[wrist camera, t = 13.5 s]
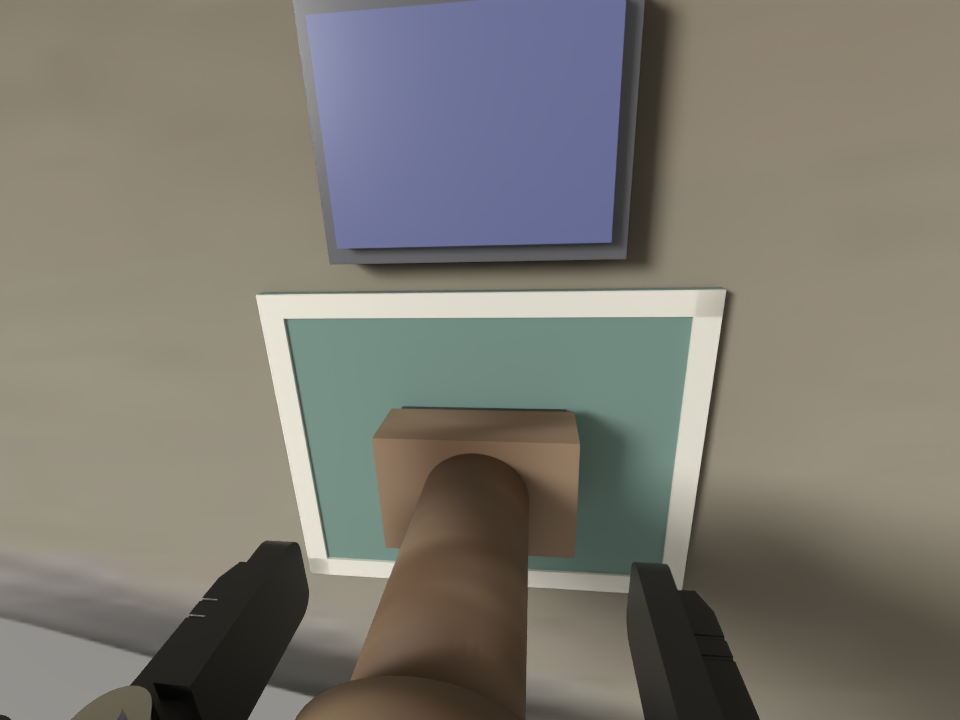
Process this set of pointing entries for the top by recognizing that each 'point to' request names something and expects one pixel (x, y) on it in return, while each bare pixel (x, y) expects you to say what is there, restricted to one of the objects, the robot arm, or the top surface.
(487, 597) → the stamp
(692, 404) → the green white framed board
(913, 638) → the top surface
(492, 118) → the ink pad
